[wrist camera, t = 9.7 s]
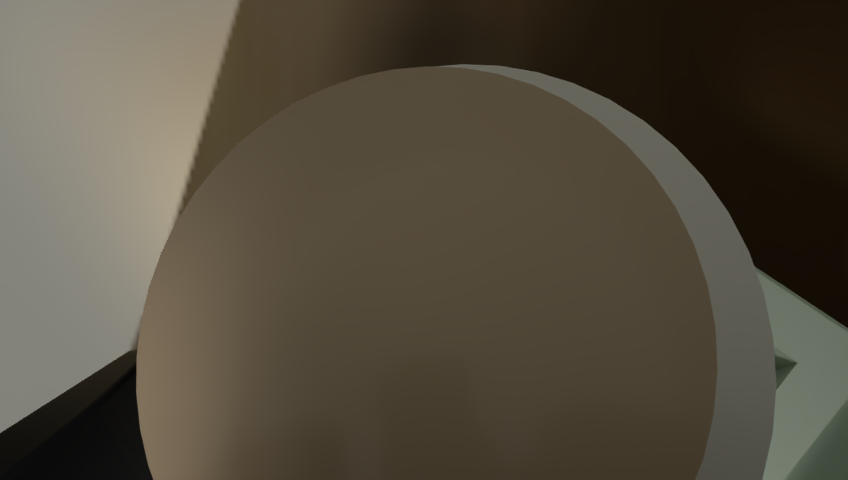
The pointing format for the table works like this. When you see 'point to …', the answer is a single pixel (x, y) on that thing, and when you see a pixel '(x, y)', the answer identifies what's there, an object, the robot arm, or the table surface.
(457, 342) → the spice jar
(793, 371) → the spice stand
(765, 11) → the table surface
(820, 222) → the table surface
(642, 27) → the table surface
